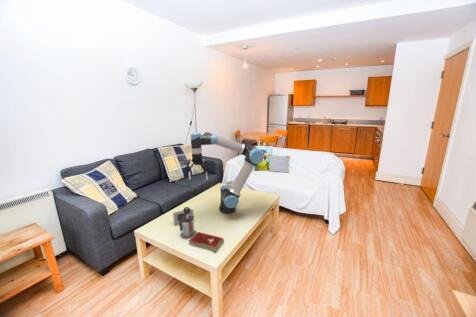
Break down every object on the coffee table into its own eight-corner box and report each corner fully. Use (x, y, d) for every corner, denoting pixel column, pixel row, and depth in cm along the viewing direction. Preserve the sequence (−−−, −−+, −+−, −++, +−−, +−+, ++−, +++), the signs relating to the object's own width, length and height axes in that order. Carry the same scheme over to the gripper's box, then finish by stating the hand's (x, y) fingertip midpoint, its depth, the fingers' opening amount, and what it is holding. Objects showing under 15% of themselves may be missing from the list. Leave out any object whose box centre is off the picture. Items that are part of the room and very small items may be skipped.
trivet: (198, 230, 168) (198, 229, 168) (194, 240, 156) (194, 239, 156) (183, 230, 169) (183, 229, 168) (178, 239, 157) (178, 238, 157)
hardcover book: (198, 236, 162) (197, 231, 161) (223, 242, 154) (223, 237, 153) (188, 245, 151) (188, 240, 150) (215, 253, 143) (215, 247, 142)
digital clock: (173, 226, 173) (172, 214, 171) (174, 221, 182) (173, 209, 179) (194, 224, 176) (193, 212, 173) (194, 218, 185) (193, 207, 182)
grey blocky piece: (195, 230, 166) (194, 215, 163) (192, 237, 158) (191, 221, 155) (182, 230, 167) (181, 215, 163) (179, 237, 159) (177, 221, 155)
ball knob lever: (192, 229, 164) (190, 205, 159) (190, 233, 159) (189, 209, 154) (186, 229, 164) (184, 205, 159) (184, 233, 159) (182, 208, 154)
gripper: (213, 151, 170) (214, 177, 175) (182, 151, 171) (184, 177, 176) (212, 154, 162) (213, 181, 168) (179, 154, 164) (181, 180, 169)
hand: (198, 179), depth 172 cm, fingers open, 13 cm apart
